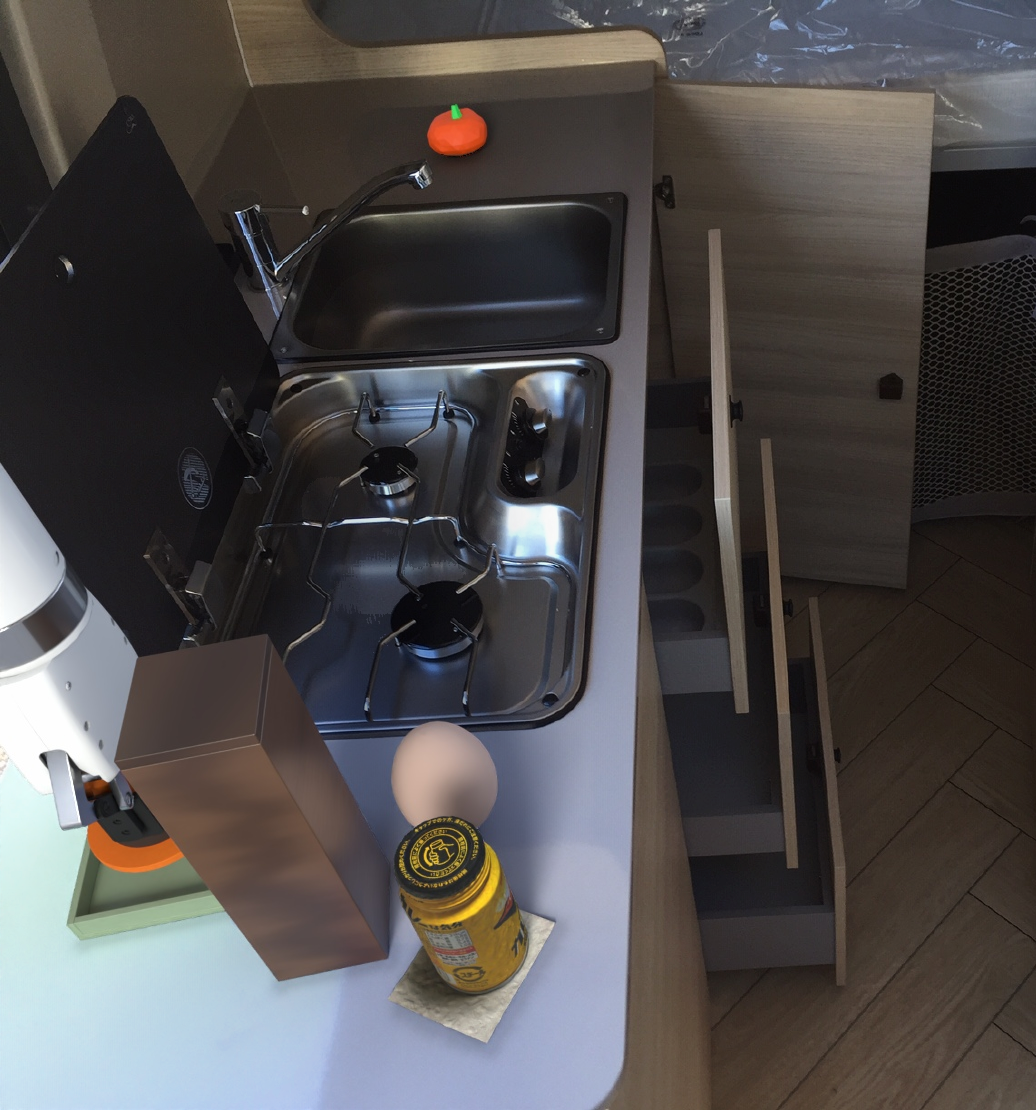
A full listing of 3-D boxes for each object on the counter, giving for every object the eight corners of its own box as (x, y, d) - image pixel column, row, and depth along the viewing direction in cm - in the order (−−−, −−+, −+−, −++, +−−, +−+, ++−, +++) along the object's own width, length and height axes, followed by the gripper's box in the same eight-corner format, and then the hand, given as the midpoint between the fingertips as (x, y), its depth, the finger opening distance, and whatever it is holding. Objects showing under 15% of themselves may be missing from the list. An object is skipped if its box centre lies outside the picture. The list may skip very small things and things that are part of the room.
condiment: (556, 924, 78) (518, 822, 70) (487, 1044, 73) (437, 950, 65) (462, 888, 81) (414, 785, 72) (388, 1002, 76) (328, 905, 67)
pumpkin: (422, 154, 159) (409, 106, 154) (476, 134, 162) (465, 87, 157) (447, 173, 154) (434, 124, 150) (502, 151, 157) (491, 104, 153)
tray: (80, 940, 80) (65, 925, 79) (112, 792, 89) (100, 775, 87) (263, 903, 81) (251, 887, 80) (278, 760, 90) (268, 743, 88)
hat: (80, 886, 79) (21, 822, 73) (102, 774, 85) (50, 708, 80) (220, 855, 79) (172, 790, 74) (232, 747, 86) (189, 679, 80)
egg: (413, 871, 82) (372, 790, 75) (412, 790, 87) (372, 706, 80) (513, 849, 83) (480, 766, 76) (506, 769, 87) (475, 685, 81)
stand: (278, 982, 77) (112, 761, 60) (286, 885, 82) (136, 657, 65) (388, 958, 78) (255, 734, 61) (390, 864, 83) (267, 632, 66)
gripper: (-18, 520, 73) (115, 703, 86) (-105, 746, 61) (65, 920, 74) (107, 497, 74) (221, 682, 87) (46, 716, 62) (189, 894, 75)
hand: (148, 790), depth 80 cm, fingers closed on hat, 6 cm apart
